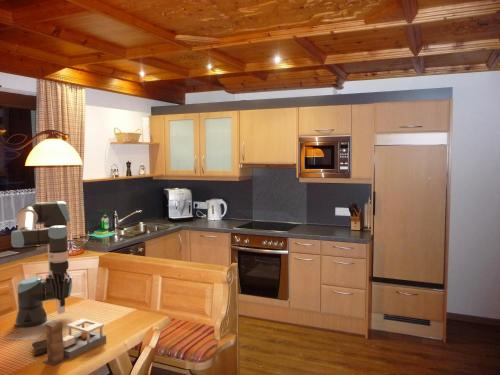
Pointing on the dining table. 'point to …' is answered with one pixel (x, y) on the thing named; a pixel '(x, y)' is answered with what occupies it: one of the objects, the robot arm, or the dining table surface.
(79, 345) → the two-tier post stand
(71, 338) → the on button
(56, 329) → the brown rectangular block
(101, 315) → the dining table surface
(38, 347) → the rock
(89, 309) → the dining table surface
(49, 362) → the pad
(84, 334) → the plunger
